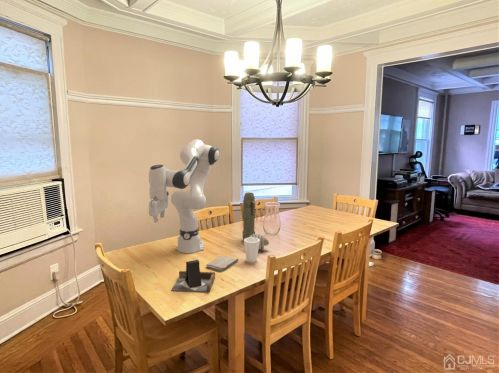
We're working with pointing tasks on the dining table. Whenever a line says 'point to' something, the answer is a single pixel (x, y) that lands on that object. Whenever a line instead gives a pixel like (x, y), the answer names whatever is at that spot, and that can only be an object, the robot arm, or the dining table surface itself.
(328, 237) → the dining table surface
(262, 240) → the toy sheep
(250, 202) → the green cactus
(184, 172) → the robot arm
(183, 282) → the tray
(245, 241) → the foam cup
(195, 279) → the door stopper
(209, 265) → the washcloth
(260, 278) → the dining table surface
